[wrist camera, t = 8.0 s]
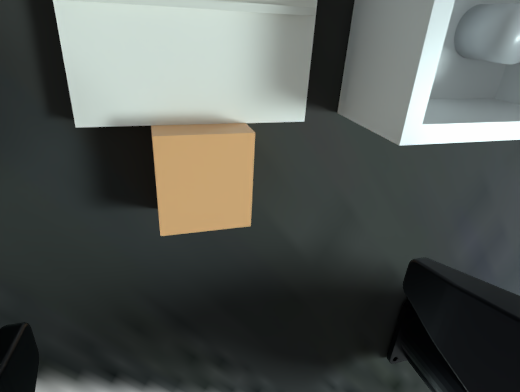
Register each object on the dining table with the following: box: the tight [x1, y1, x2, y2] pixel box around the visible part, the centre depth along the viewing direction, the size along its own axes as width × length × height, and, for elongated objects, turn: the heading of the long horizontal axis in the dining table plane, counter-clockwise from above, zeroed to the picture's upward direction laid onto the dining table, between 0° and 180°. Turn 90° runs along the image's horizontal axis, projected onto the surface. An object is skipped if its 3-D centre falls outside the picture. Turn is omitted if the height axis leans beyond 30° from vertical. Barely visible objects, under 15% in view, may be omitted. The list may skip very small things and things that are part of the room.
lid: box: [53, 0, 317, 236], centre depth 13 cm, size 18×10×2 cm, turn 176°
